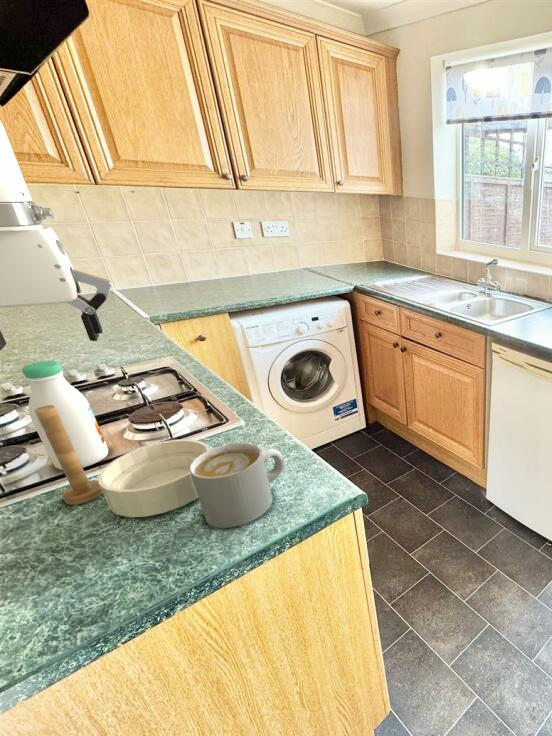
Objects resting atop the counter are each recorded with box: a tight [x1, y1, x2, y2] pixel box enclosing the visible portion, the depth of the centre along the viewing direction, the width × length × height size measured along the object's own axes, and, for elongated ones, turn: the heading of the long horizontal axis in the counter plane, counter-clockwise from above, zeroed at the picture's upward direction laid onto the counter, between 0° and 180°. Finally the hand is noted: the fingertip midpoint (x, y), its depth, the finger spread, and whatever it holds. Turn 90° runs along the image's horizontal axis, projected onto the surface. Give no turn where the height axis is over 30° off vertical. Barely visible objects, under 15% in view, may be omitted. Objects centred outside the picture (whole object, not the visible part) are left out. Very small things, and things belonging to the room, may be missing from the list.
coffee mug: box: [190, 442, 285, 529], centre depth 71 cm, size 13×10×10 cm
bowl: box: [97, 438, 211, 518], centre depth 74 cm, size 15×15×6 cm
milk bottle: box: [21, 360, 109, 471], centre depth 77 cm, size 8×8×20 cm
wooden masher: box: [35, 405, 103, 506], centre depth 69 cm, size 5×5×17 cm
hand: (49, 343), depth 60 cm, fingers open, 9 cm apart
